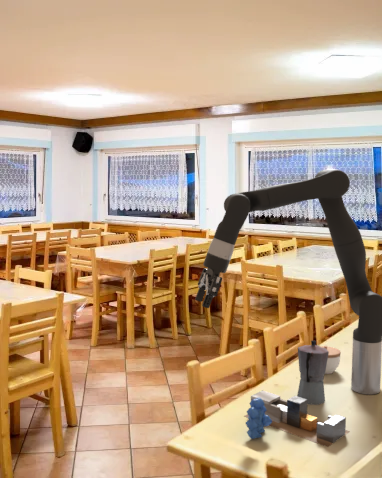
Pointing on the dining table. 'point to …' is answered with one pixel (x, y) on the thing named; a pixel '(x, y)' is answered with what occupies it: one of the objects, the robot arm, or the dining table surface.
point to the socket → (332, 428)
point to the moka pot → (312, 373)
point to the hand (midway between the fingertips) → (201, 304)
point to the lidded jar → (332, 359)
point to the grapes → (257, 418)
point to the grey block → (297, 414)
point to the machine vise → (275, 416)
